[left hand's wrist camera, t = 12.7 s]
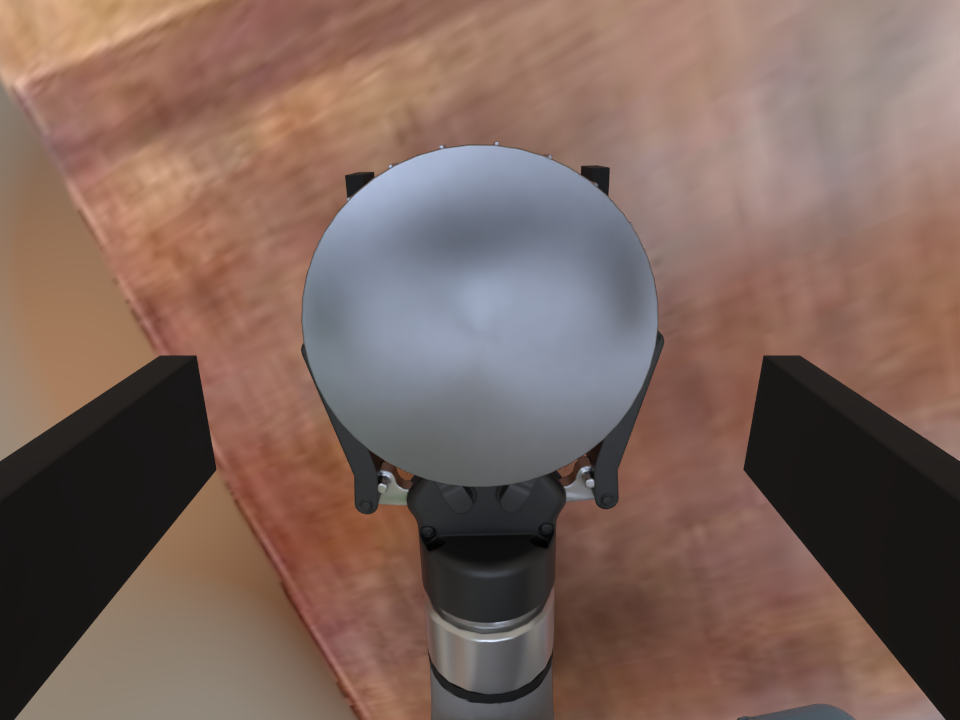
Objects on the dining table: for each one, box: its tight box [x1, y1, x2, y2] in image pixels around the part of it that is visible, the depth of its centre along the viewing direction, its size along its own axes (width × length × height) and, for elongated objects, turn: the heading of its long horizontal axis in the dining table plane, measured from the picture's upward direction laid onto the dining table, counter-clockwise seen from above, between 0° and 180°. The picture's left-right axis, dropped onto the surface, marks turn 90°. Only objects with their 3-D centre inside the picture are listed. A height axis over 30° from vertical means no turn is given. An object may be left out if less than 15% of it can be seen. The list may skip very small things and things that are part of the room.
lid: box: [302, 142, 658, 487], centre depth 19 cm, size 11×11×2 cm
